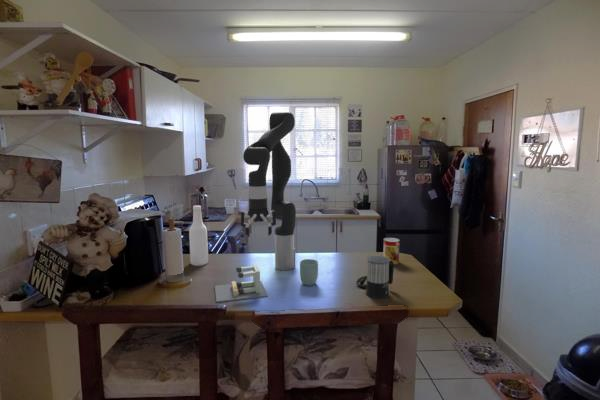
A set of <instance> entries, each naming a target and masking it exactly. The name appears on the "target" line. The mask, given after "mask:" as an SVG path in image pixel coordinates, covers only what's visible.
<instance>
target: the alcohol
mask: <svg viewBox="0 0 600 400" xmlns="http://www.w3.org/2000/svg"><path fill="white" fill-rule="evenodd" d="M192 210H193V211H192V213H193V215H192V216H193V217H192V224H191V225H190V227H189V230H188V238H189V254H190V255H189V257H190V259H189V260H190V264H191V265H192V266H194V267H201V266H205V265H207V264H208V263H209V246H208V229H207V226H206V225H205V224H204V222H203V214H202V206H201V205H199V204H198V205H197V204H196V205H193V206H192Z"/></svg>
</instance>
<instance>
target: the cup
mask: <svg viewBox="0 0 600 400" xmlns="http://www.w3.org/2000/svg"><path fill="white" fill-rule="evenodd" d="M299 275H300V277H299V278H300V281H301V284H302V285H304V286H311V287H312V286H314V285H315V284H316V283H317V281H318V277H319V276H318V275H319V262H318V260H316V259H309V258H308V259H307V258H305V259H301V260H300V262H299Z"/></svg>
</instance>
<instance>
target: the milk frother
mask: <svg viewBox="0 0 600 400" xmlns="http://www.w3.org/2000/svg"><path fill="white" fill-rule="evenodd" d="M366 262H367V263H366V264H367V268H366V269H367V270H366V271H367V272H366V275H365V276H361V277H359V278H358V279H357V280H356V285H357V286H358V287H360V288H364V289H366V290H365V294H366V296H367V297H370V298H373V299H380V300H381V299H387V298H388V297H389V296H390V293H389V290H390V289H389V285H393V282H394V281H393V280H394V272H395V264H394V263H393V261H391V260H390V259H389V258H386V257H383V256H382V255H372V256H368V257H367V258H366ZM365 282H366V284H365Z"/></svg>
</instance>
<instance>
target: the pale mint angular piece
mask: <svg viewBox="0 0 600 400" xmlns="http://www.w3.org/2000/svg"><path fill="white" fill-rule="evenodd" d="M235 270H236V272H237V277H238V278H239V279H242V278H248V277H252V280H249V281H238V282H236V283H237V287H239V289H238V292H239V293H240V294H242V293H247V292H256V293H260V281H261V271H260V269H259V266H258V265H257V264H252V266H237V267H236V269H235ZM253 285H254V287H250V288H240V287H243V286H253Z"/></svg>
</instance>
